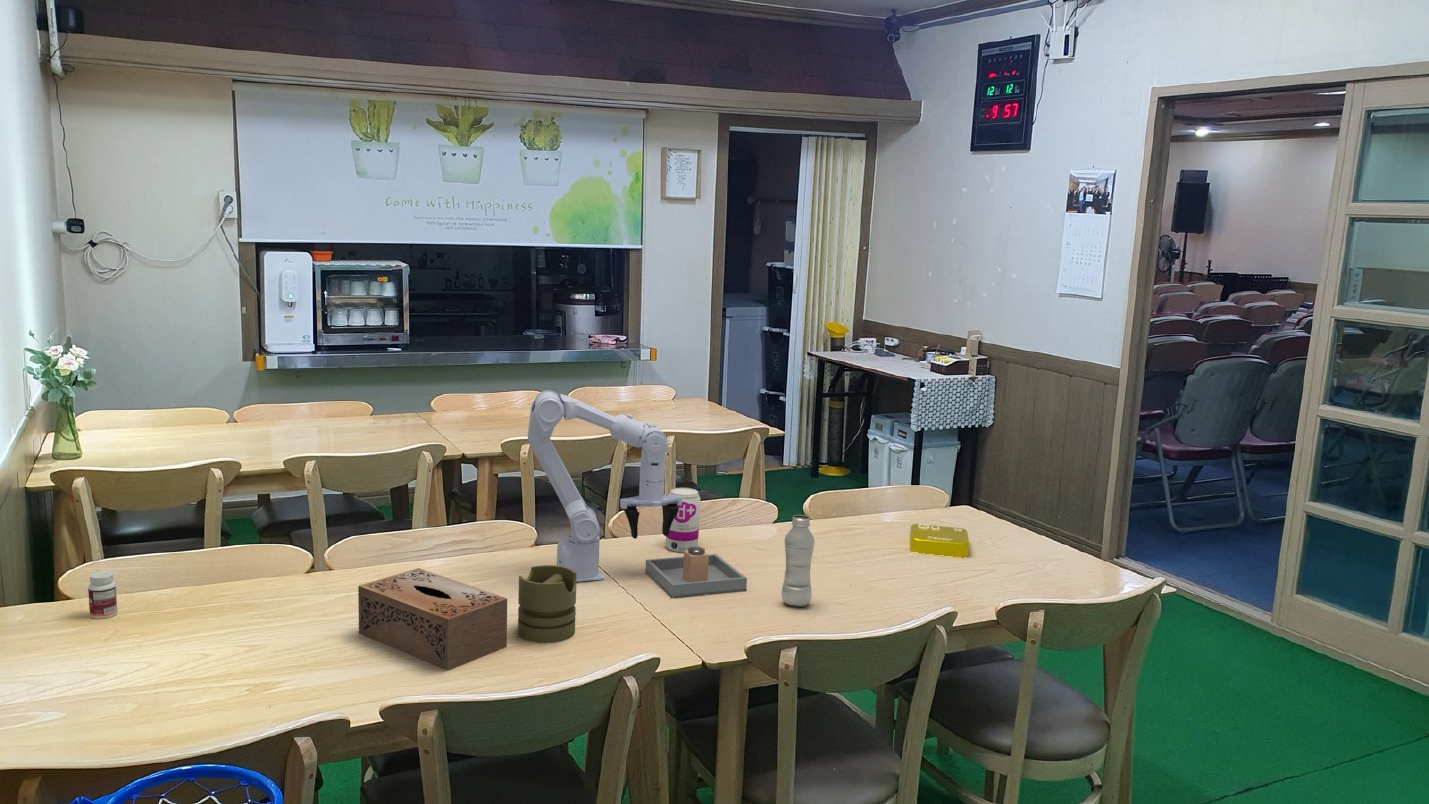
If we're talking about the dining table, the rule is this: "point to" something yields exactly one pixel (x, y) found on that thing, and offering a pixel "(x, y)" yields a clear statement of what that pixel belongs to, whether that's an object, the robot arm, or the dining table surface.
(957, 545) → the element tile
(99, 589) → the pill bottle
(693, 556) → the shaker
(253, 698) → the dining table surface
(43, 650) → the dining table surface
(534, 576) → the piston
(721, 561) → the tray
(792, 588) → the plastic bottle
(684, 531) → the supplement can
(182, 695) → the dining table surface
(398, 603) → the tissue box cover
